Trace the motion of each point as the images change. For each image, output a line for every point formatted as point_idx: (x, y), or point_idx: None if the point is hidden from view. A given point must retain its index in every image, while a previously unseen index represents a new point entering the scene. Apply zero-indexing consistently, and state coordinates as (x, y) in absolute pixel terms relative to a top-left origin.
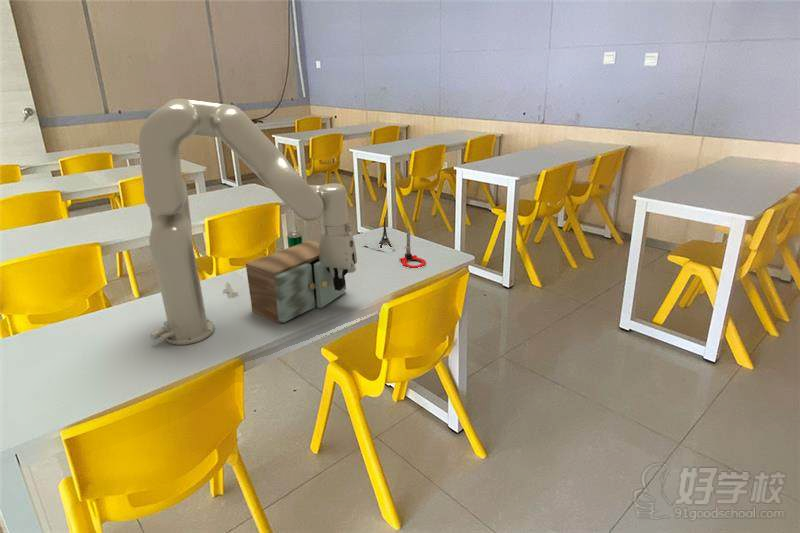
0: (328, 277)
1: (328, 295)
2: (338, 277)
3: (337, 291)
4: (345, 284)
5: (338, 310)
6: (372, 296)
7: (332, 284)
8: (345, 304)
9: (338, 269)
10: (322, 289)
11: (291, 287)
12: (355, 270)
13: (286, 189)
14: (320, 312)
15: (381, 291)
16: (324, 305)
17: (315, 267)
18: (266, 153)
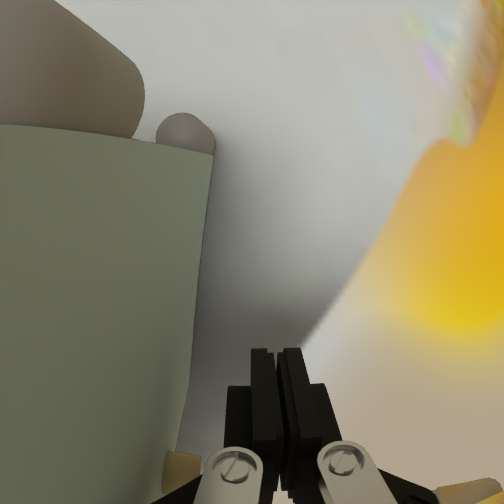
0: (157, 445)
1: (185, 355)
2: (293, 487)
3: (196, 252)
4: (210, 139)
5: (273, 352)
6: (394, 133)
7: (176, 346)
8: (281, 282)
9: (147, 297)
10: (173, 443)
11: None
12: (491, 481)
13: None
14: (198, 389)
15: (412, 61)
16: (190, 363)
17: None
18: None
